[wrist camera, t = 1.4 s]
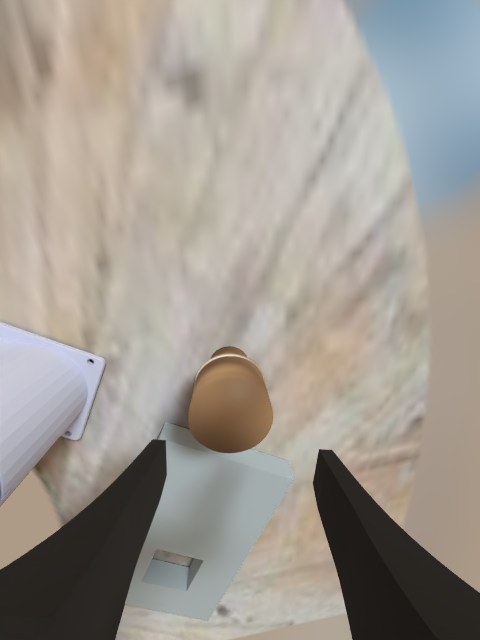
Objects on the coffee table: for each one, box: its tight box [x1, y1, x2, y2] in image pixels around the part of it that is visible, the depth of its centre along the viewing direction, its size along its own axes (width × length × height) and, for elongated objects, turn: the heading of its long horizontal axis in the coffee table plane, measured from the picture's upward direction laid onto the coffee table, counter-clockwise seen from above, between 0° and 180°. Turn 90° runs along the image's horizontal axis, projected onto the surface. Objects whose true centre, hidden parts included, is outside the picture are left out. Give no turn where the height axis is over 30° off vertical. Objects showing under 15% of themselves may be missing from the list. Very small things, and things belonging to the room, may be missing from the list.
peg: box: [188, 347, 273, 453], centre depth 18 cm, size 5×5×7 cm
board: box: [125, 422, 294, 621], centre depth 25 cm, size 12×20×2 cm, turn 157°
